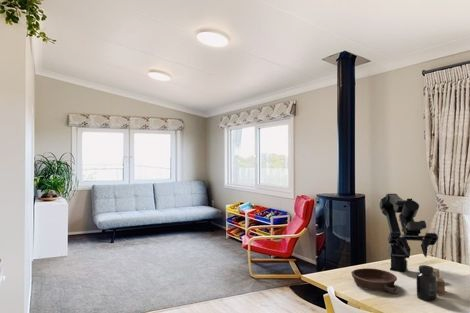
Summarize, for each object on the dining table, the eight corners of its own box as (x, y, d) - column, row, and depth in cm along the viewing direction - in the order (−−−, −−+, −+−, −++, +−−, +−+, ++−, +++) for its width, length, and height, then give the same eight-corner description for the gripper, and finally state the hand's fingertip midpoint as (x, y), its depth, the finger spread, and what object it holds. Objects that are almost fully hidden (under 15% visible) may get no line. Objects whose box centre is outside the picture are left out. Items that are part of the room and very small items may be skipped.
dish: (366, 275, 160) (366, 264, 160) (410, 290, 141) (410, 278, 141) (339, 281, 152) (339, 270, 152) (382, 299, 133) (382, 286, 133)
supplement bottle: (434, 295, 135) (434, 265, 135) (438, 302, 129) (438, 270, 129) (415, 293, 138) (414, 263, 138) (418, 300, 131) (417, 268, 131)
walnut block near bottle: (430, 292, 139) (430, 280, 139) (428, 288, 143) (428, 276, 143) (444, 294, 137) (444, 281, 137) (442, 290, 141) (442, 277, 141)
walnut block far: (422, 280, 153) (422, 268, 153) (427, 277, 156) (427, 266, 156) (435, 283, 149) (435, 271, 149) (439, 280, 152) (439, 269, 152)
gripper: (389, 213, 149) (398, 245, 138) (436, 214, 146) (448, 246, 135) (384, 227, 157) (392, 259, 146) (428, 228, 154) (439, 260, 143)
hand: (417, 256), depth 142 cm, fingers open, 6 cm apart
